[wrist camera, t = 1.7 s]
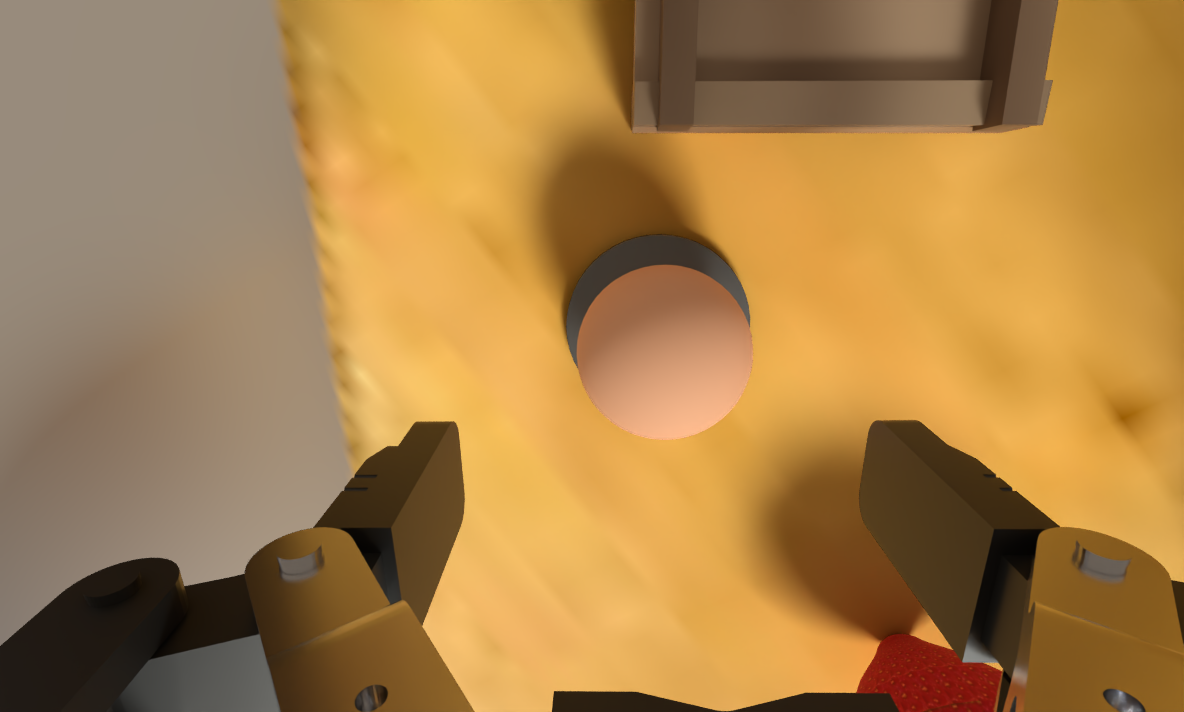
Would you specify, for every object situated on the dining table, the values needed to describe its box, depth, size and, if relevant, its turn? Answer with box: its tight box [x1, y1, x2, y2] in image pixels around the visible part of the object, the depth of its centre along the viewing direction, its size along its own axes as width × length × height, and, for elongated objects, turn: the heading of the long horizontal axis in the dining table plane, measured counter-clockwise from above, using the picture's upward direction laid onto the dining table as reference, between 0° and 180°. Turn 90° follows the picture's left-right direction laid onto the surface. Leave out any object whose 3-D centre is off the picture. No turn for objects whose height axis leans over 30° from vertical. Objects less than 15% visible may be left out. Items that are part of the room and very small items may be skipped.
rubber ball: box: [577, 265, 753, 440], centre depth 17 cm, size 5×5×5 cm
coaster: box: [566, 234, 750, 368], centre depth 20 cm, size 6×6×1 cm
